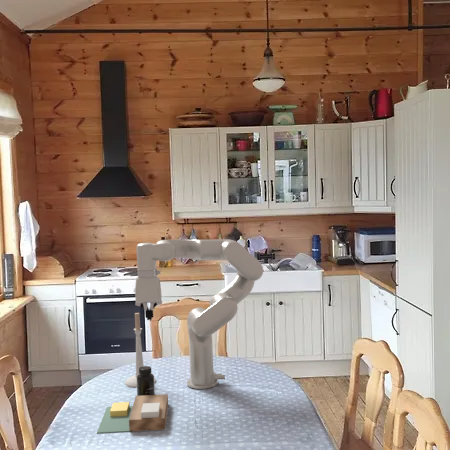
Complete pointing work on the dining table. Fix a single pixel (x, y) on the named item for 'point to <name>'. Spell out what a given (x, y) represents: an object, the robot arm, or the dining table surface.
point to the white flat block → (150, 410)
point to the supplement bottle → (145, 381)
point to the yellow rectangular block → (119, 409)
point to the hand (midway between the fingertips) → (149, 319)
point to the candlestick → (137, 353)
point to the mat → (114, 422)
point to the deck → (148, 423)
